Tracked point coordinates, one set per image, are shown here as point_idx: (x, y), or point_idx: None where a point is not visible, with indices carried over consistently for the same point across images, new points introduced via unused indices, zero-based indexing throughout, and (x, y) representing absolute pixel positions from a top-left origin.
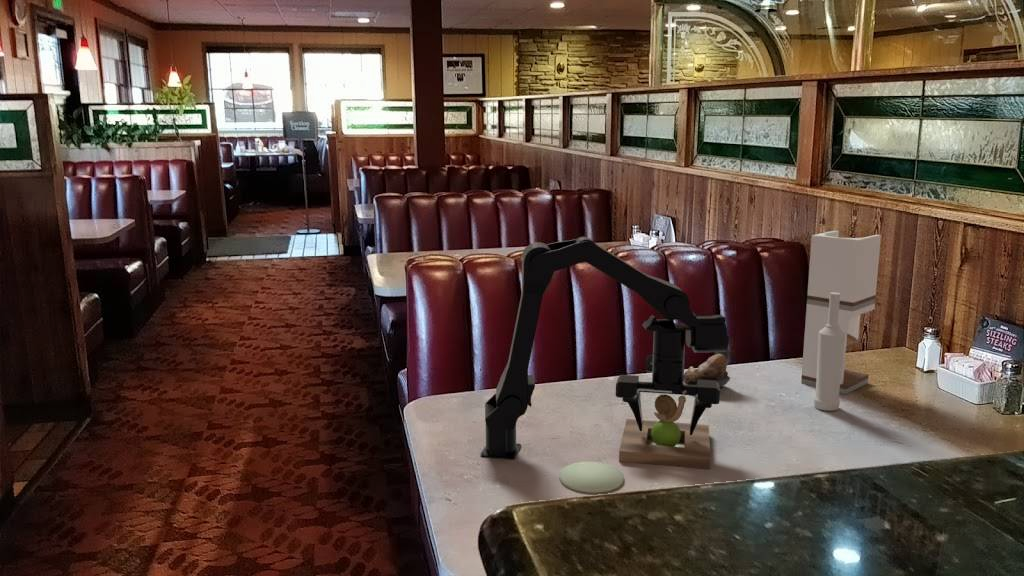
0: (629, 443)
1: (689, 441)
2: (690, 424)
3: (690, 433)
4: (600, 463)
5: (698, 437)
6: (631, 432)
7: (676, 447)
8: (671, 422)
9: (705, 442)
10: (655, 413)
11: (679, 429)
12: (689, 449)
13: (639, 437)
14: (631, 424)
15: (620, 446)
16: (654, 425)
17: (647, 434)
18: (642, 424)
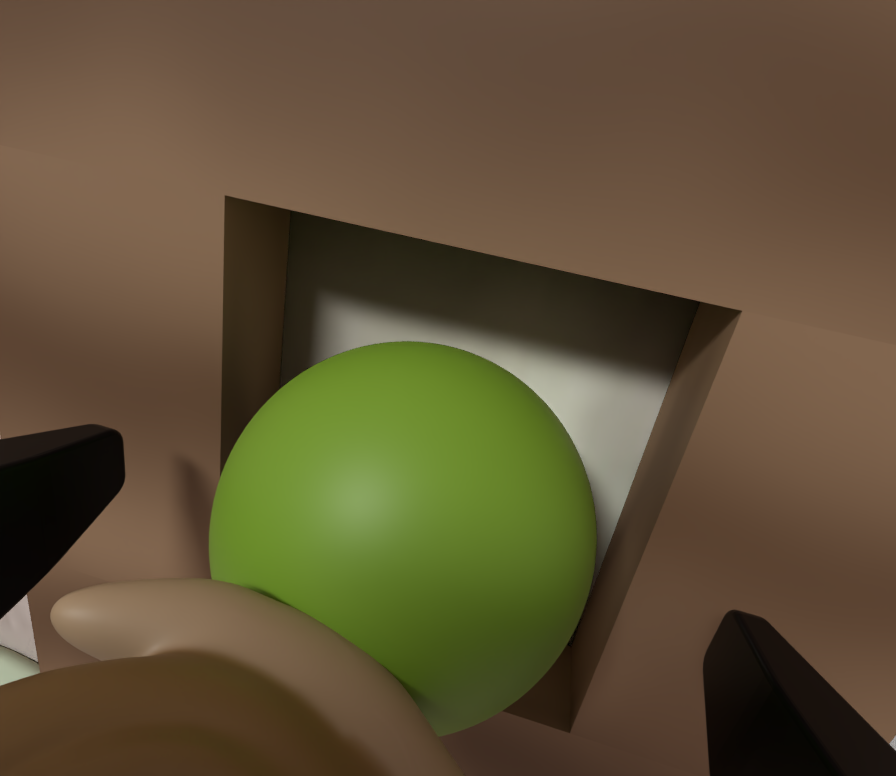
0: (86, 584)
1: (674, 630)
2: (767, 756)
3: (710, 698)
4: (5, 681)
5: (854, 539)
6: (58, 335)
7: (489, 718)
8: (423, 708)
9: (873, 681)
10: (80, 649)
11: (569, 636)
12: (607, 774)
13: (152, 469)
14: (8, 49)
15: (33, 623)
16: (210, 569)
17: (241, 318)
18: (68, 461)
